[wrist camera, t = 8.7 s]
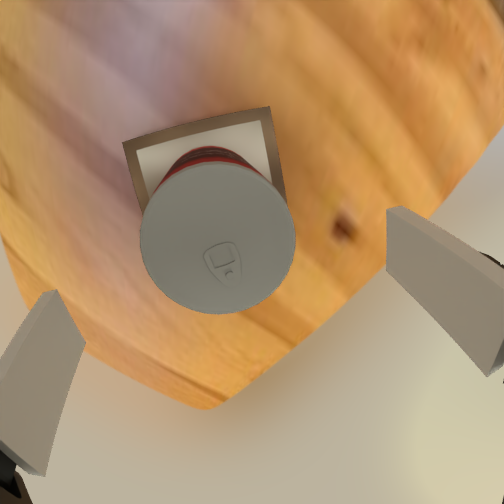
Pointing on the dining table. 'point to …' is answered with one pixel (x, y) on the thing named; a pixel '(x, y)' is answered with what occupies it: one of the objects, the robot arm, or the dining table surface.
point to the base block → (205, 134)
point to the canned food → (216, 233)
